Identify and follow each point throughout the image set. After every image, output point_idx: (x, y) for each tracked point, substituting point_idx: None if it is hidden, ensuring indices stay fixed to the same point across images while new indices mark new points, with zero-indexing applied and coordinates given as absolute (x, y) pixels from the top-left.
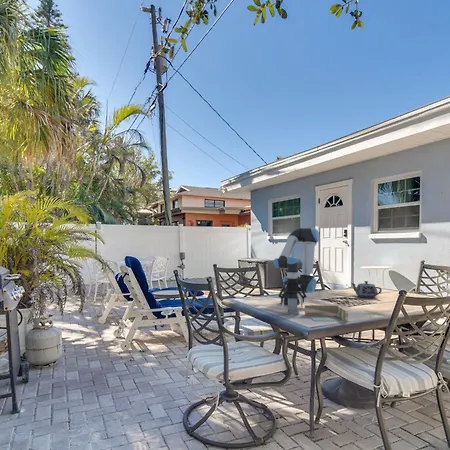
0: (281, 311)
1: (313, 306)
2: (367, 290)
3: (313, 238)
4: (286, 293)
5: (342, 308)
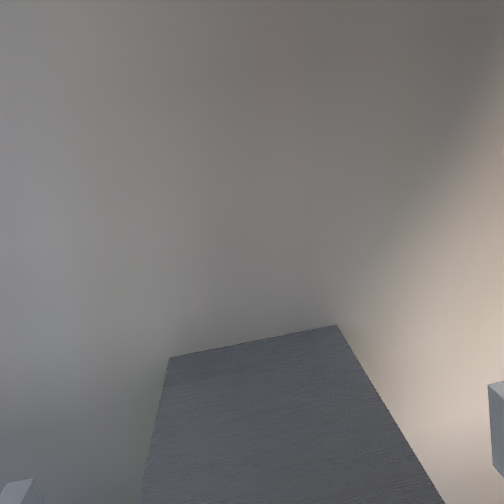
0: (32, 361)
1: None
2: None
3: None
4: None
5: None
